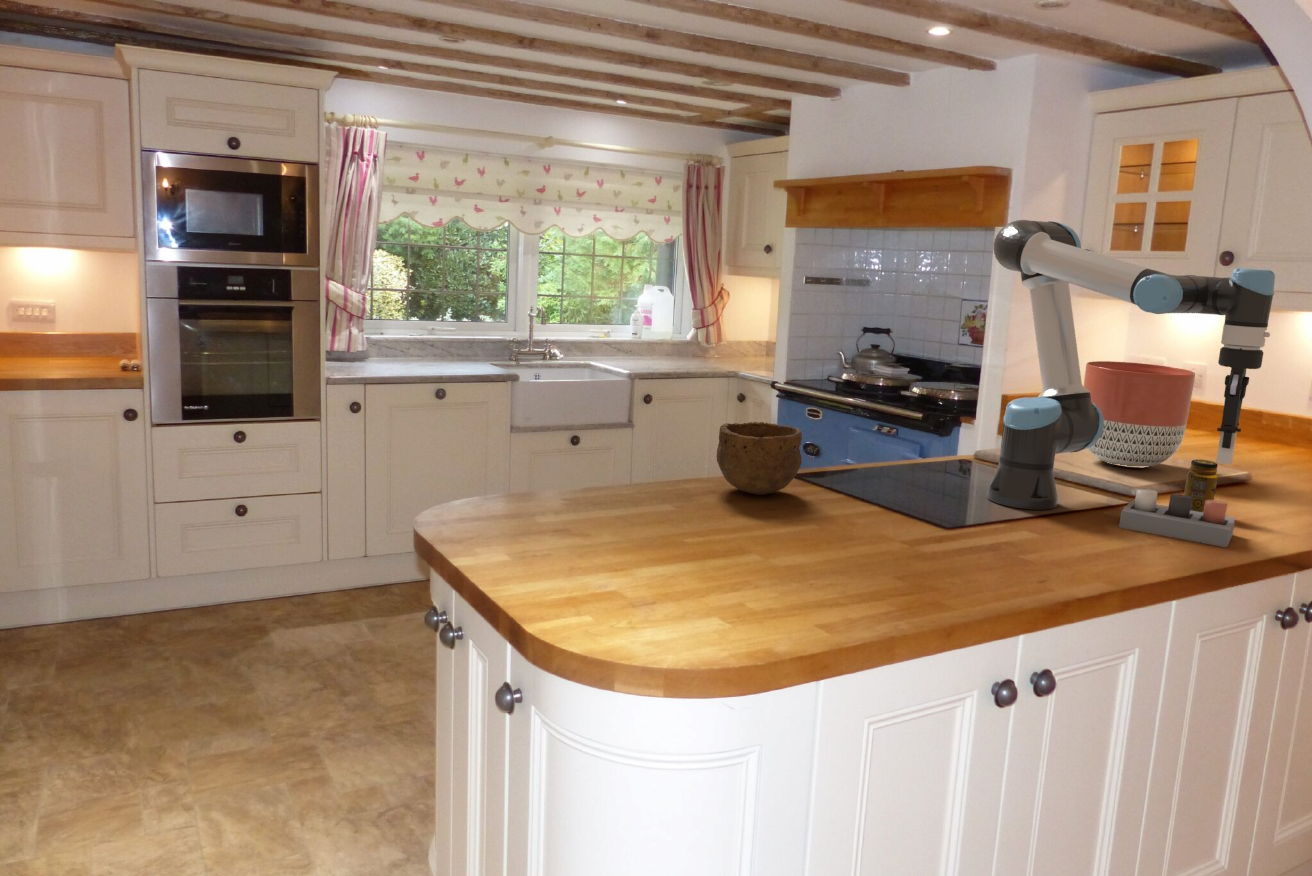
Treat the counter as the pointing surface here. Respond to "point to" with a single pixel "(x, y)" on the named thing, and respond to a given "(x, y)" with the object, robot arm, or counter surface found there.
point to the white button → (1145, 499)
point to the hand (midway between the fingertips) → (1223, 463)
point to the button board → (1177, 525)
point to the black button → (1179, 505)
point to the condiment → (1201, 483)
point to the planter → (1139, 410)
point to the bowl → (759, 455)
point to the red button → (1214, 511)
